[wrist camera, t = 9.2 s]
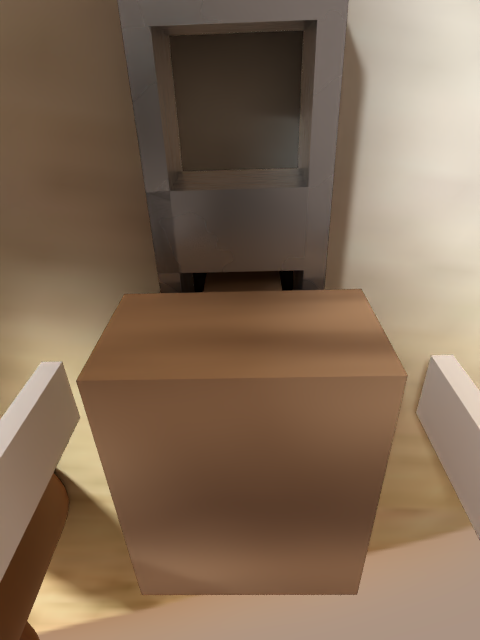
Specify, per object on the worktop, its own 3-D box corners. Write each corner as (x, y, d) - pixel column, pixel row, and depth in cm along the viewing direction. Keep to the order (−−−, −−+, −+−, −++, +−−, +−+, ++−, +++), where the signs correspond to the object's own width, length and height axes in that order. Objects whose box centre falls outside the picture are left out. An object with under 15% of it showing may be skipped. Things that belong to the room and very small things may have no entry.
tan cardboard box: (145, 255, 15) (76, 380, 9) (340, 250, 14) (407, 375, 8) (174, 433, 19) (141, 595, 13) (322, 431, 19) (357, 594, 13)
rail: (139, -19, 11) (110, -44, 8) (330, -28, 11) (353, -54, 8) (206, 525, 23) (202, 573, 21) (294, 524, 23) (300, 573, 21)
